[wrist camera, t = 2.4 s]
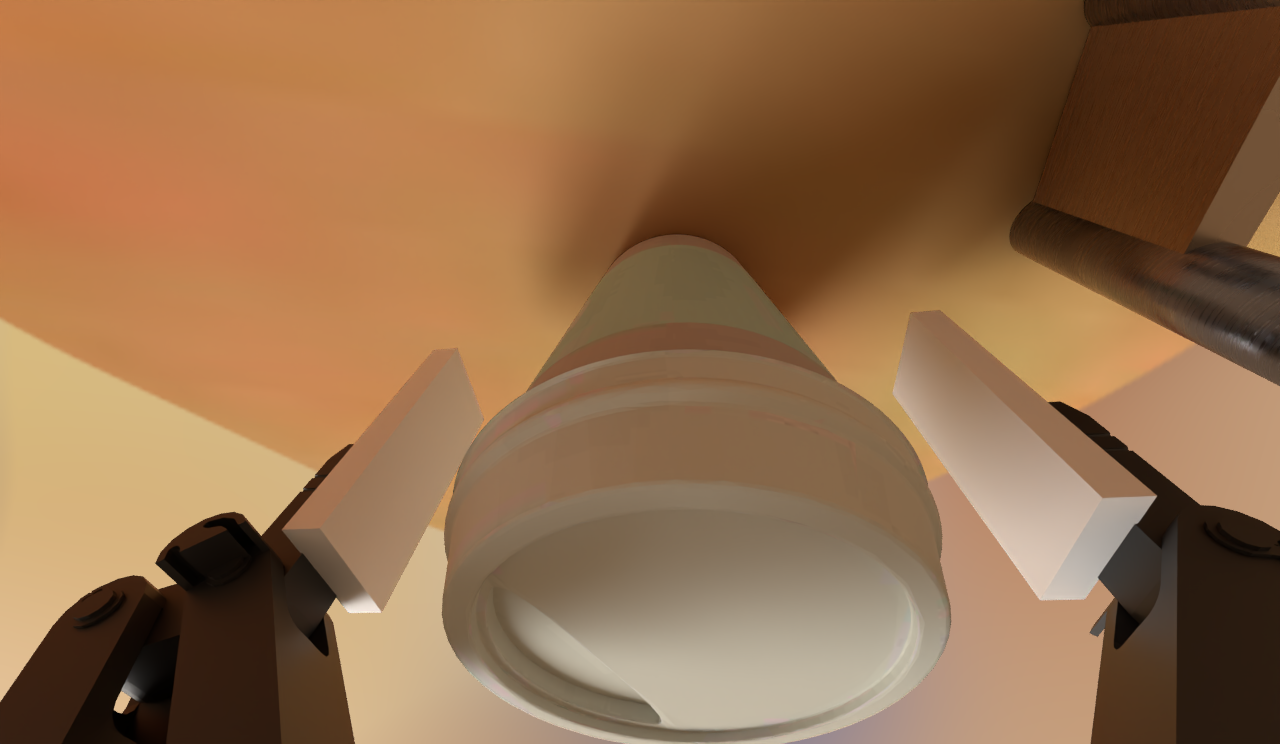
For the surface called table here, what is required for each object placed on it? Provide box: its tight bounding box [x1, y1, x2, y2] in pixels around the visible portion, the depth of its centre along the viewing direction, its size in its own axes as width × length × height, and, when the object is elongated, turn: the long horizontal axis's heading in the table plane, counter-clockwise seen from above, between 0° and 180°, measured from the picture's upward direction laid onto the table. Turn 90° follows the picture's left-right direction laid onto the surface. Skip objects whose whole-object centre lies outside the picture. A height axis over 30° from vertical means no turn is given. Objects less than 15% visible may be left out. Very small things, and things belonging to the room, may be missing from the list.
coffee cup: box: [442, 234, 951, 744], centre depth 12 cm, size 8×8×12 cm
